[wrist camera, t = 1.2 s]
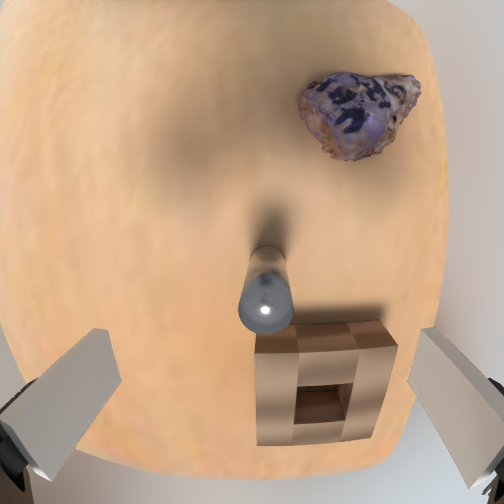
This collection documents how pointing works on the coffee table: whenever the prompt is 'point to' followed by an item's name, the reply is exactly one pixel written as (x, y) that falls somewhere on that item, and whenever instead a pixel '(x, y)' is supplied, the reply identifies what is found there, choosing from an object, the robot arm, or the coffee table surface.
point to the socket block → (321, 382)
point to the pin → (266, 293)
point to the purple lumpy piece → (357, 112)
